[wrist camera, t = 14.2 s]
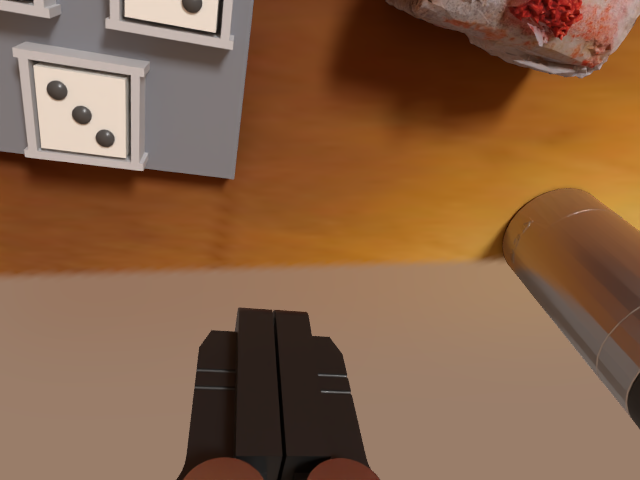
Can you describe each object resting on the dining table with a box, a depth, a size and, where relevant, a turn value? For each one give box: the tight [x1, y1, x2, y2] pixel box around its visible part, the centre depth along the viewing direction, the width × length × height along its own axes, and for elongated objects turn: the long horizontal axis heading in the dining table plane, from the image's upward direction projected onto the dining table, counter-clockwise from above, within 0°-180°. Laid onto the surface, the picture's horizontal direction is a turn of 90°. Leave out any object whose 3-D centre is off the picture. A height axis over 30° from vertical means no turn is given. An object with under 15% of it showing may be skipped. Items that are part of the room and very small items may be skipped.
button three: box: [33, 61, 131, 158], centre depth 31 cm, size 5×5×2 cm
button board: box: [0, 0, 254, 179], centre depth 30 cm, size 19×17×4 cm
